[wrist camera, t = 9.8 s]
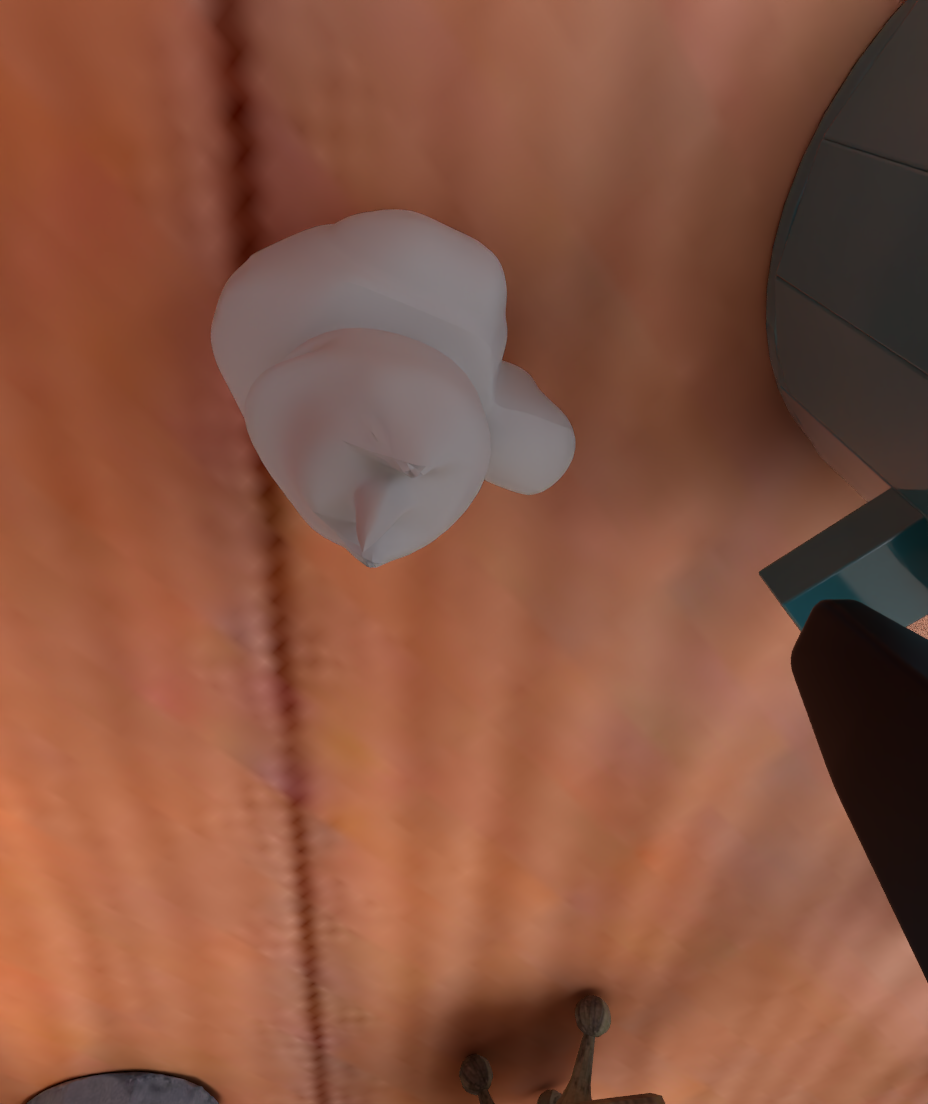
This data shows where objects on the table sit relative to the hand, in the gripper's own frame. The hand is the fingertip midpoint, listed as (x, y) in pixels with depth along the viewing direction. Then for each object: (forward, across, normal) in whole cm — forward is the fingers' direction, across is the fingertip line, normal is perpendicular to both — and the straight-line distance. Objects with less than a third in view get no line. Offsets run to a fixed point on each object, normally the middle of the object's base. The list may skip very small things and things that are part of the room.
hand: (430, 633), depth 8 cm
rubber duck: (+9, 0, 0) cm, 9 cm away
